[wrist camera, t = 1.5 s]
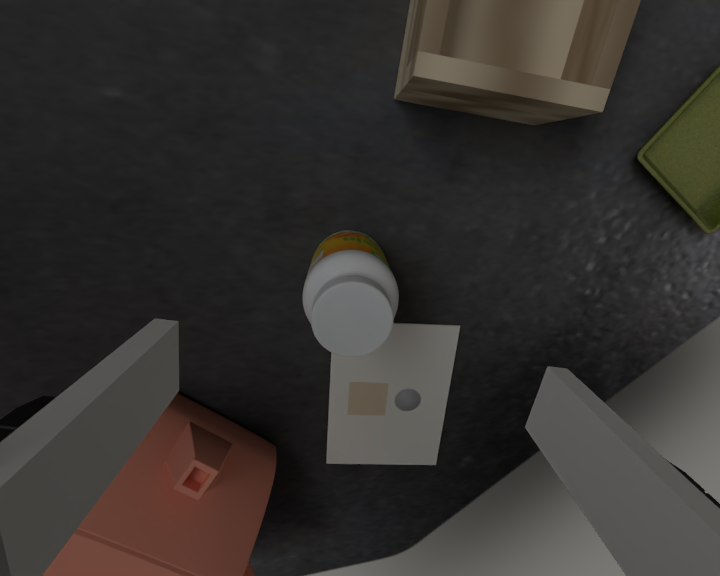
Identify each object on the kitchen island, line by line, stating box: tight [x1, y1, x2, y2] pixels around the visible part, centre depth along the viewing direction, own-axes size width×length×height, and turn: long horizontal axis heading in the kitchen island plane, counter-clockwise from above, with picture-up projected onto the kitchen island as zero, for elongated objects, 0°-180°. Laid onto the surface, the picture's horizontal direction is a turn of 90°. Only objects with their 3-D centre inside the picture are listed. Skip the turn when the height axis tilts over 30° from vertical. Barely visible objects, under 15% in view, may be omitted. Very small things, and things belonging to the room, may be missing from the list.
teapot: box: [42, 393, 276, 576], centre depth 24 cm, size 20×22×14 cm
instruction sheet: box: [326, 323, 460, 465], centre depth 30 cm, size 10×14×1 cm
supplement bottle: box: [303, 231, 399, 357], centre depth 21 cm, size 5×5×10 cm
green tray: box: [636, 64, 720, 234], centre depth 24 cm, size 9×9×2 cm
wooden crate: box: [394, 0, 641, 125], centre depth 18 cm, size 10×10×6 cm
